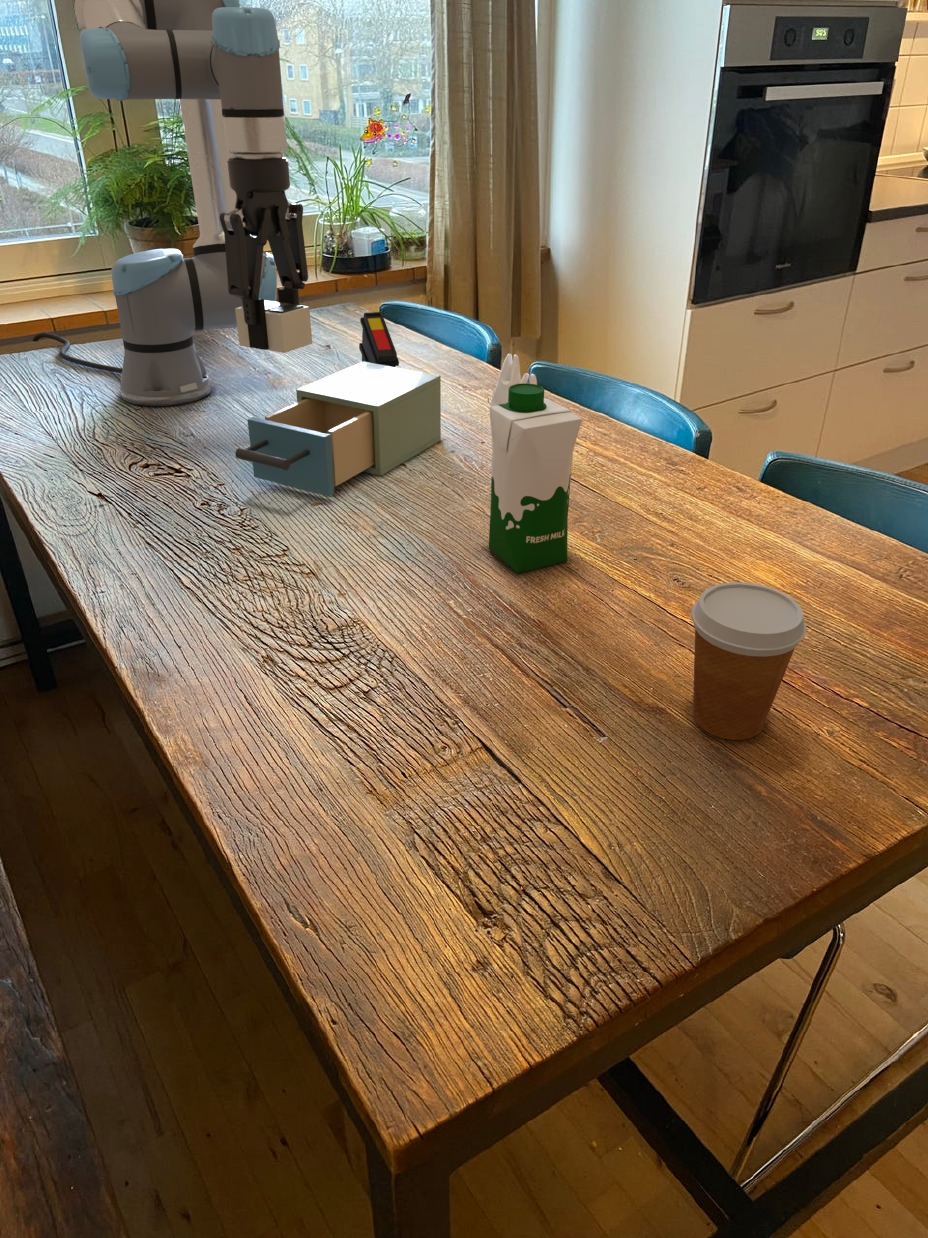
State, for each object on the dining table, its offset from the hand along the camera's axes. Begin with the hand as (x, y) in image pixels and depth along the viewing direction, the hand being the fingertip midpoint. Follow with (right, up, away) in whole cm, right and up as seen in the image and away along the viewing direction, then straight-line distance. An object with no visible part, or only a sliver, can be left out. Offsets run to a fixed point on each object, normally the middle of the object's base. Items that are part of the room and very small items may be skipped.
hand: (275, 342), depth 126 cm
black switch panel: (+12, -2, +31) cm, 33 cm away
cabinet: (+12, -12, +14) cm, 22 cm away
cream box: (0, 0, 0) cm, 0 cm away
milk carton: (+34, -31, -15) cm, 48 cm away
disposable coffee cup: (+50, -48, -42) cm, 81 cm away
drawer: (+5, -18, +3) cm, 19 cm away
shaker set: (+34, -6, +24) cm, 42 cm away
